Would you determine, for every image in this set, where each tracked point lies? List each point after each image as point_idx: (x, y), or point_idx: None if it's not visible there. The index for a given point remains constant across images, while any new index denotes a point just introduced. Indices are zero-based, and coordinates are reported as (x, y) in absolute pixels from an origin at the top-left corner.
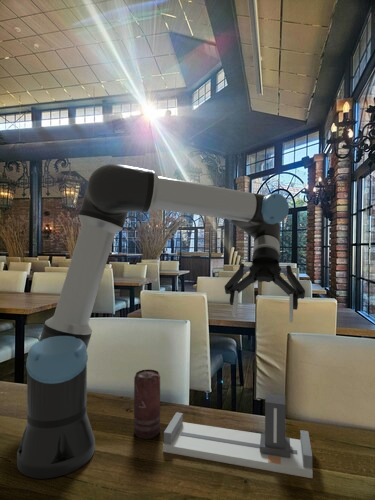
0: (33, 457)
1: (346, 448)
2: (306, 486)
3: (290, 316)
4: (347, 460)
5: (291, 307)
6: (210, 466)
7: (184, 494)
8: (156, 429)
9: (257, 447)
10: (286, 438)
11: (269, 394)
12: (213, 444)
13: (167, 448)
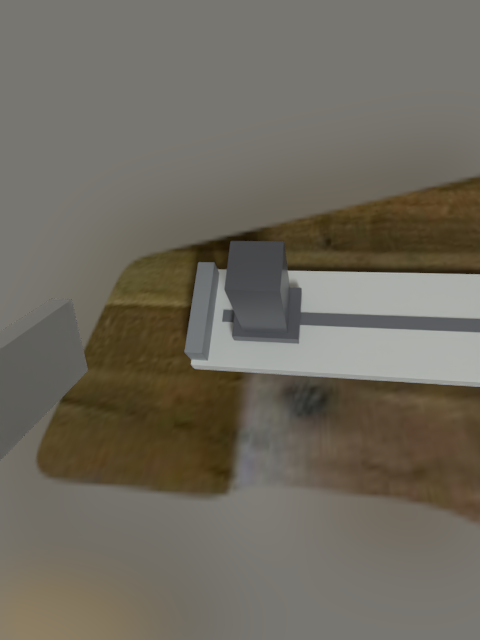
0: None
1: (112, 385)
2: (222, 255)
3: (69, 307)
4: (126, 342)
5: (12, 331)
6: (401, 263)
7: (429, 189)
8: None
9: (307, 312)
10: (239, 331)
11: (269, 290)
12: (410, 302)
13: None
